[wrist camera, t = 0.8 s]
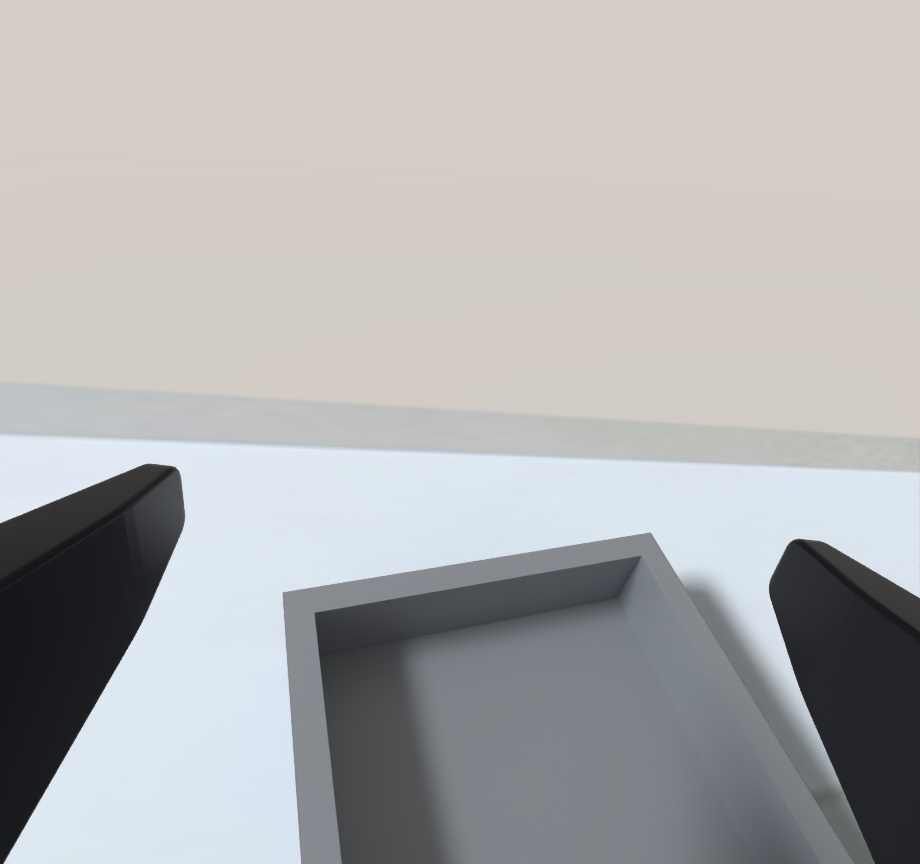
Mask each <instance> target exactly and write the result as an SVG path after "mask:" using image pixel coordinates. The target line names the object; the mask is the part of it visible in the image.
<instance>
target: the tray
mask: <svg viewBox="0 0 920 864" xmlns="http://www.w3.org/2000/svg"><path fill="white" fill-rule="evenodd" d="M283 606H284V620H285V635H286V649H287V664H288V678H289V693H290V707H291V722H292V736H293V750H294V765H295V779H296V794H297V808H298V823H299V837H300V851H301V864H854V863H853V861H852V859H851V858H850V856H849V854H848V853H847V851H846V850H845V848H844V846H843V845H842V843H841V841H840V840H839V838H838V837H837V835H836V833H835V832H834V830H833V828H832V827H831V825H830V824H829V822H828V820H827V819H826V817H825V815H824V814H823V812H822V810H821V809H820V807H819V806H818V804H817V802H816V801H815V799H814V797H813V796H812V794H811V793H810V791H809V789H808V788H807V786H806V784H805V783H804V781H803V780H802V778H801V776H800V775H799V773H798V771H797V770H796V768H795V767H794V765H793V763H792V762H791V760H790V758H789V757H788V755H787V754H786V752H785V750H784V749H783V747H782V745H781V744H780V742H779V741H778V739H777V737H776V736H775V734H774V732H773V731H772V729H771V728H770V726H769V724H768V723H767V721H766V719H765V718H764V716H763V714H762V713H761V711H760V710H759V708H758V706H757V705H756V703H755V701H754V700H753V698H752V697H751V695H750V693H749V692H748V690H747V688H746V687H745V685H744V684H743V682H742V680H741V679H740V677H739V675H738V674H737V672H736V671H735V669H734V667H733V666H732V664H731V662H730V661H729V659H728V658H727V656H726V654H725V653H724V651H723V649H722V648H721V646H720V645H719V643H718V641H717V640H716V638H715V636H714V635H713V633H712V632H711V630H710V628H709V627H708V625H707V623H706V622H705V620H704V618H703V617H702V615H701V614H700V612H699V610H698V609H697V607H696V605H695V604H694V602H693V601H692V599H691V597H690V596H689V594H688V592H687V591H686V589H685V588H684V586H683V584H682V583H681V581H680V579H679V578H678V576H677V575H676V573H675V571H674V570H673V568H672V566H671V565H670V563H669V562H668V560H667V558H666V557H665V555H664V553H663V552H662V550H661V549H660V547H659V545H658V544H657V542H656V540H655V539H654V537H653V535H652V534H651V533H645V534H639V535H633V536H627V537H621V538H615V539H608V540H602V541H596V542H590V543H584V544H578V545H572V546H565V547H559V548H553V549H547V550H541V551H535V552H529V553H522V554H516V555H510V556H504V557H498V558H492V559H486V560H479V561H473V562H467V563H461V564H455V565H449V566H443V567H436V568H430V569H424V570H418V571H412V572H406V573H400V574H393V575H387V576H381V577H375V578H369V579H363V580H357V581H350V582H344V583H338V584H332V585H326V586H320V587H314V588H307V589H301V590H295V591H289V592H283Z"/></svg>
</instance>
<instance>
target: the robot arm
mask: <svg viewBox="0 0 920 864" xmlns="http://www.w3.org/2000/svg"><path fill="white" fill-rule="evenodd" d="M184 521H185V510H184V501H183V491H182V482H181V475H180V473H179V470H178V469H176V468H175V467H173V466H165V465H157V464H145V465H142V466H139V467H137V468H135V469H132V470H130V471H127V472H125V473H122V474H120V475H117V476H115V477H113V478H110V479H108V480H105V481H103V482H100V483H98V484H95V485H93V486H91V487H88V488H86V489H83V490H81V491H78V492H76V493H73V494H71V495H68V496H66V497H64V498H61V499H59V500H56V501H54V502H51V503H49V504H46V505H44V506H42V507H39V508H37V509H34V510H32V511H29V512H27V513H24V514H22V515H20V516H17V517H15V518H12V519H10V520H7V521H5V522H2V523H0V864H4V862H5V860H6V858H7V857H8V855H9V853H10V851H11V850H12V848H13V846H14V845H15V843H16V841H17V839H18V838H19V836H20V834H21V832H22V831H23V829H24V827H25V825H26V824H27V822H28V820H29V819H30V817H31V815H32V813H33V812H34V810H35V808H36V806H37V805H38V803H39V801H40V799H41V798H42V796H43V794H44V793H45V791H46V789H47V787H48V786H49V784H50V782H51V780H52V779H53V777H54V775H55V773H56V772H57V770H58V768H59V767H60V765H61V763H62V761H63V760H64V758H65V756H66V754H67V753H68V751H69V749H70V747H71V746H72V744H73V742H74V741H75V739H76V737H77V735H78V734H79V732H80V730H81V728H82V727H83V725H84V723H85V722H86V720H87V718H88V716H89V715H90V713H91V711H92V709H93V708H94V706H95V704H96V702H97V701H98V699H99V697H100V696H101V694H102V692H103V690H104V689H105V687H106V685H107V683H108V682H109V680H110V678H111V676H112V675H113V673H114V671H115V670H116V668H117V666H118V664H119V663H120V661H121V659H122V657H123V656H124V654H125V652H126V650H127V649H128V647H129V645H130V644H131V642H132V640H133V638H134V636H135V635H136V633H137V631H138V629H139V627H140V625H141V624H142V622H143V619H144V617H145V615H146V613H147V611H148V609H149V606H150V604H151V602H152V600H153V597H154V595H155V593H156V590H157V588H158V586H159V583H160V581H161V579H162V576H163V574H164V572H165V569H166V567H167V565H168V563H169V560H170V558H171V556H172V553H173V551H174V549H175V546H176V544H177V542H178V539H179V537H180V535H181V532H182V530H183V526H184ZM769 594H770V599H771V602H772V605H773V608H774V611H775V614H776V617H777V620H778V624H779V627H780V630H781V633H782V636H783V639H784V642H785V645H786V649H787V652H788V655H789V658H790V661H791V664H792V667H793V670H794V674H795V676H796V679H797V682H798V685H799V688H800V691H801V693H802V696H803V698H804V700H805V703H806V705H807V708H808V710H809V712H810V715H811V717H812V719H813V722H814V724H815V726H816V729H817V731H818V733H819V735H820V738H821V740H822V742H823V745H824V747H825V749H826V752H827V754H828V756H829V759H830V761H831V763H832V765H833V768H834V770H835V772H836V775H837V777H838V779H839V782H840V784H841V786H842V788H843V791H844V793H845V795H846V798H847V800H848V802H849V805H850V807H851V809H852V812H853V814H854V816H855V818H856V821H857V823H858V825H859V828H860V830H861V832H862V835H863V837H864V839H865V841H866V844H867V846H868V848H869V851H870V853H871V855H872V858H873V860H874V862H875V864H920V598H919V597H917V596H915V595H913V594H912V593H910V592H908V591H907V590H905V589H903V588H902V587H900V586H898V585H896V584H895V583H893V582H891V581H890V580H888V579H886V578H884V577H883V576H881V575H879V574H878V573H876V572H874V571H872V570H871V569H869V568H867V567H866V566H864V565H862V564H861V563H859V562H857V561H855V560H854V559H852V558H850V557H849V556H847V555H845V554H843V553H842V552H840V551H838V550H837V549H835V548H833V547H832V546H830V545H828V544H826V543H824V542H821V541H814V540H805V539H796V540H793V541H791V542H790V543H789V544H788V546H787V547H786V549H785V551H784V553H783V555H782V557H781V559H780V561H779V563H778V565H777V567H776V569H775V571H774V573H773V575H772V577H771V580H770V584H769Z"/></svg>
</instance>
